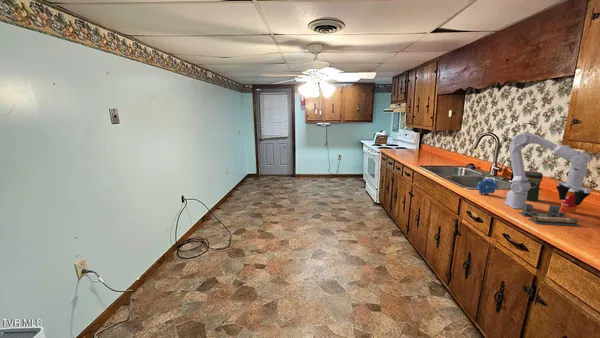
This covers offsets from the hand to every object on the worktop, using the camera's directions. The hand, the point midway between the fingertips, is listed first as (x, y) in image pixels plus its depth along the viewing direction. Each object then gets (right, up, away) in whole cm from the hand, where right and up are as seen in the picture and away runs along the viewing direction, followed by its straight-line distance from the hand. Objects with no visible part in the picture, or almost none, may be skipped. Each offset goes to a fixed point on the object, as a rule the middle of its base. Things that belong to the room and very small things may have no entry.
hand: (569, 202), depth 128 cm
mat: (-10, -10, -1) cm, 14 cm away
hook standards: (-9, -9, +6) cm, 14 cm away
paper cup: (+14, -7, +13) cm, 20 cm away
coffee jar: (+9, -3, +34) cm, 35 cm away
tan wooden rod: (-10, -10, -2) cm, 14 cm away
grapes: (-12, -1, +42) cm, 44 cm away
